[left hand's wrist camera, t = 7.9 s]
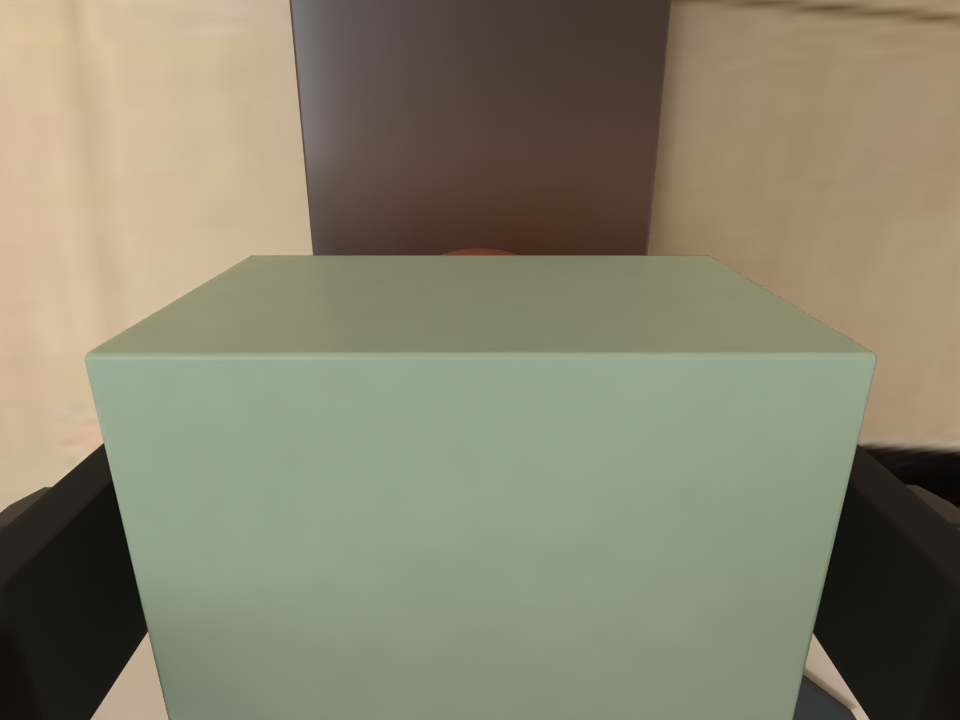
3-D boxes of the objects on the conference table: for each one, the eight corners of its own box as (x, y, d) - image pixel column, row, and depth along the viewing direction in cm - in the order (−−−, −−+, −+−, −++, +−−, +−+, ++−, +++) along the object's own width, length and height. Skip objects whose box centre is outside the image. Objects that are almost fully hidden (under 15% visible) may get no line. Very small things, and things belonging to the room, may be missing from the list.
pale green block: (664, 620, 14) (757, 875, 9) (296, 620, 14) (201, 876, 9) (711, 254, 11) (881, 353, 6) (249, 254, 11) (79, 353, 6)
